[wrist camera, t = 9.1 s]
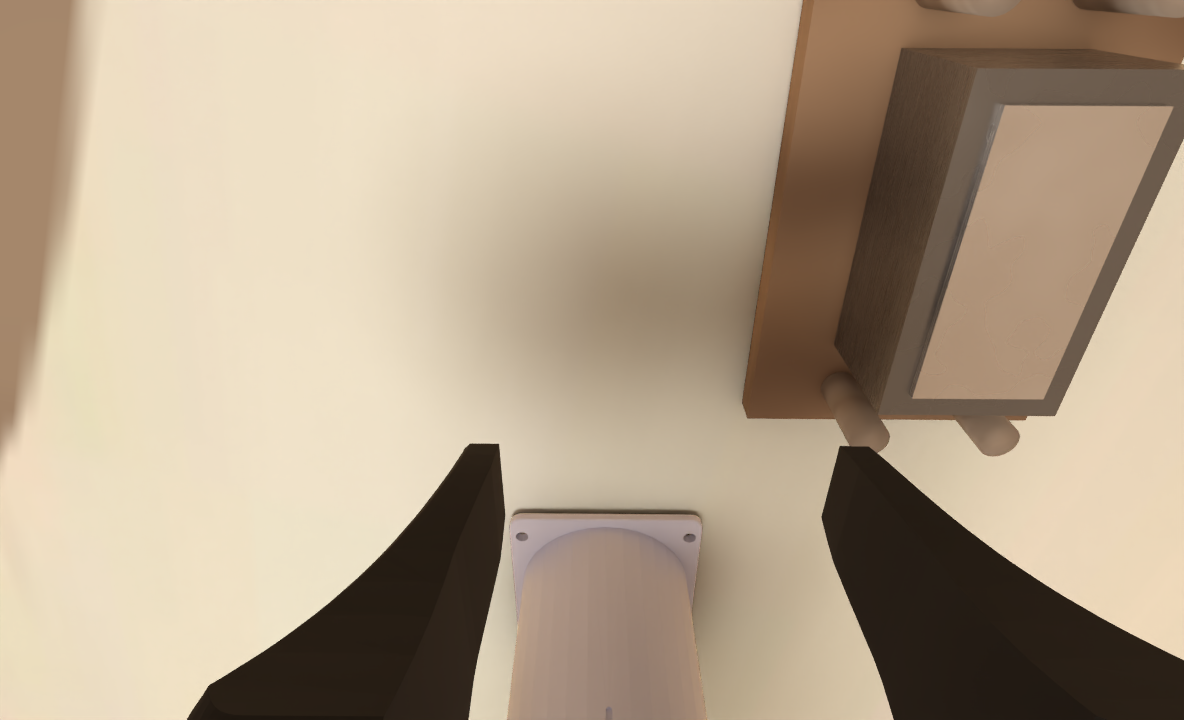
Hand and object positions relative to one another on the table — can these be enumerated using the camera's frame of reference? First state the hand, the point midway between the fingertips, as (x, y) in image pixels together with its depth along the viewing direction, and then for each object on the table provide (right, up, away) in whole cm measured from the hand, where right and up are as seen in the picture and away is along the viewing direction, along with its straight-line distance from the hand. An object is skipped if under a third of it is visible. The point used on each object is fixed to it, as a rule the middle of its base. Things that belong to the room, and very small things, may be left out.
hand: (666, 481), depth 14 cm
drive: (+9, +7, +6) cm, 13 cm away
